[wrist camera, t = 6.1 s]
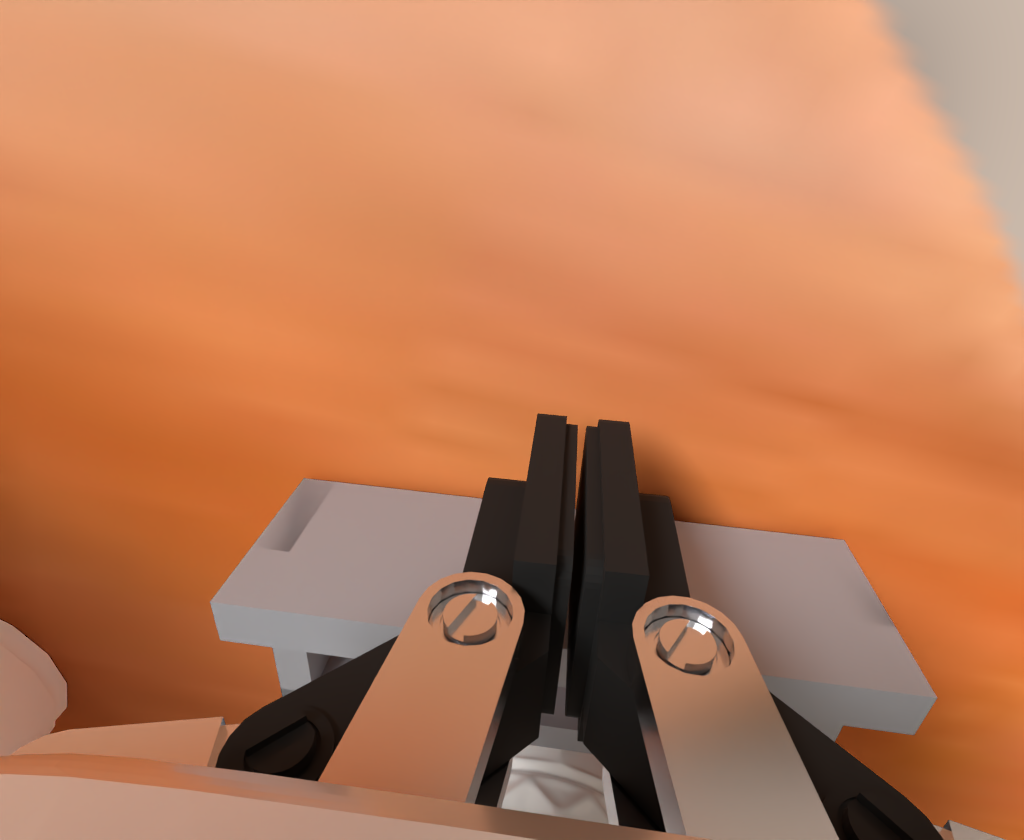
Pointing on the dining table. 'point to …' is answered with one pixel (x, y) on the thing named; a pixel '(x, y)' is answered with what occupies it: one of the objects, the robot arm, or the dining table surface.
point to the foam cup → (27, 691)
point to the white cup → (557, 784)
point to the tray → (443, 551)
